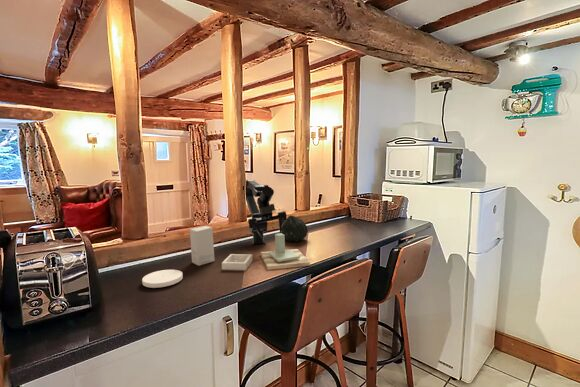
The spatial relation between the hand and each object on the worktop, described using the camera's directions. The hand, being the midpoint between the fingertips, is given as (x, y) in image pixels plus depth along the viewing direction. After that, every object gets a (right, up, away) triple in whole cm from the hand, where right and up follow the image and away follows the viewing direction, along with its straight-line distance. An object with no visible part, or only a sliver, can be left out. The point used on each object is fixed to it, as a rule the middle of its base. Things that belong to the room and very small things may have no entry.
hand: (271, 235), depth 148 cm
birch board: (+6, -10, -9) cm, 15 cm away
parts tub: (-14, -11, -15) cm, 23 cm away
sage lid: (+6, -8, -11) cm, 14 cm away
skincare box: (-30, -11, -10) cm, 33 cm away
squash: (+11, -6, +25) cm, 28 cm away
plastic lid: (-39, -14, -31) cm, 52 cm away
